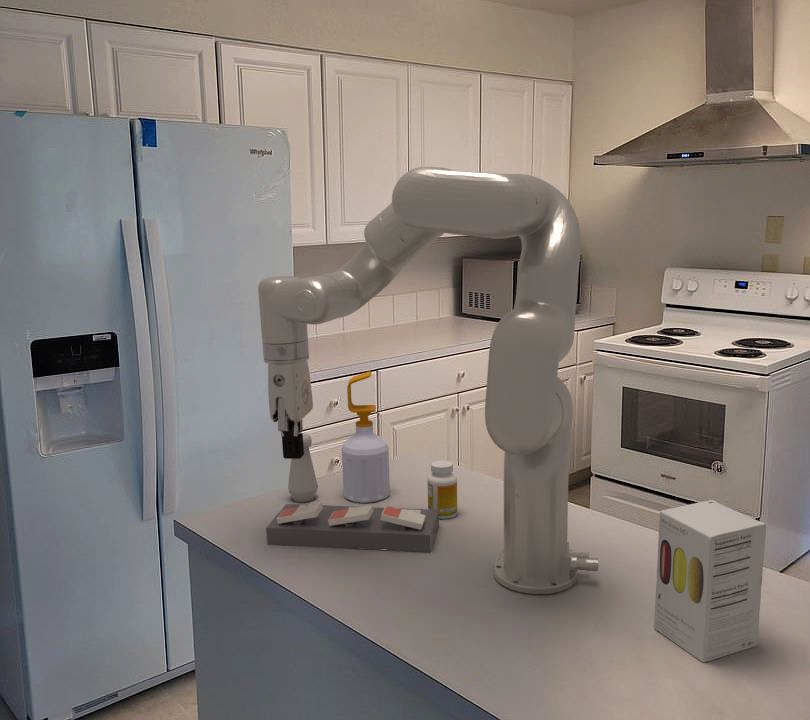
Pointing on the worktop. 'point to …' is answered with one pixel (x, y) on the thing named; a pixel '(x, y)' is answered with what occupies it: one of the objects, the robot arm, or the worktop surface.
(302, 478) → the salt shaker
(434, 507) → the supplement bottle
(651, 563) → the worktop surface
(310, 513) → the rocker far
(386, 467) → the soap bottle
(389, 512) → the rocker near
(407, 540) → the rocker switch panel
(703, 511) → the supplement box
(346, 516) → the rocker middle
